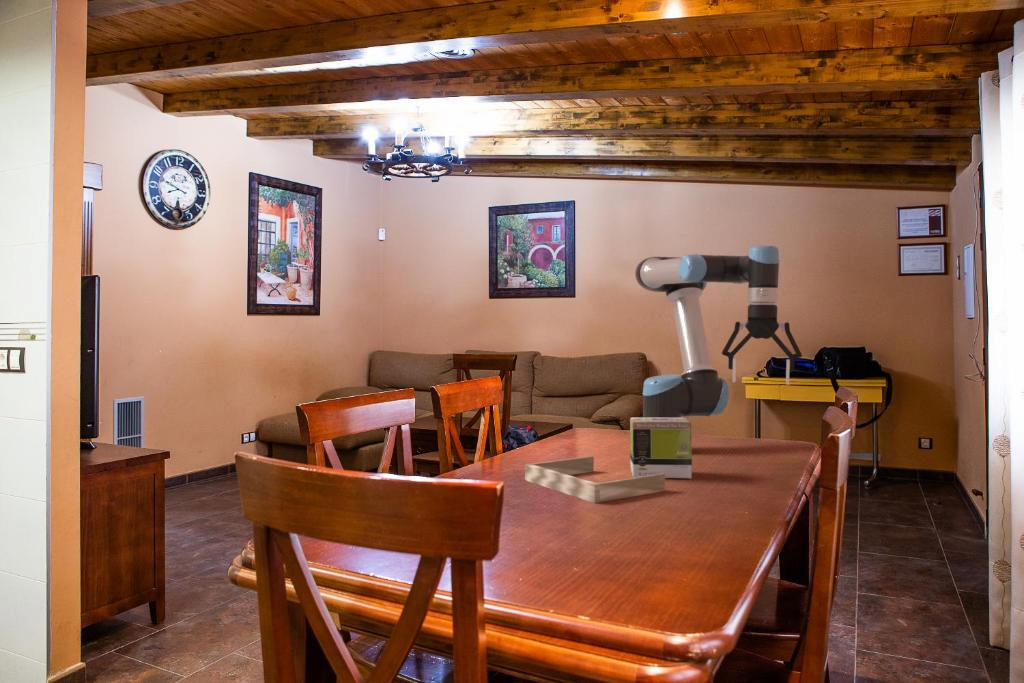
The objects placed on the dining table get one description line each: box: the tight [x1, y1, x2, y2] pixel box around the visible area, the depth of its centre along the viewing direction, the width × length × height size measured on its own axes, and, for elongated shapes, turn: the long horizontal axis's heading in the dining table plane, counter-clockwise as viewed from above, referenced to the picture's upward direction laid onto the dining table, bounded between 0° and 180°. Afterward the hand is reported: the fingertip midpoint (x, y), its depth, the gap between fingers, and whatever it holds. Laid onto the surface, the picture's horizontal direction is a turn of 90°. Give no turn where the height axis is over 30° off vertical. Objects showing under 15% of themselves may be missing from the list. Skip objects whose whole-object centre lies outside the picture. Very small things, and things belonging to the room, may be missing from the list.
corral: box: [524, 455, 666, 504], centre depth 174 cm, size 27×22×4 cm
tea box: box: [629, 416, 693, 479], centre depth 187 cm, size 15×10×15 cm, turn 84°
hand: (760, 383), depth 193 cm, fingers open, 13 cm apart
